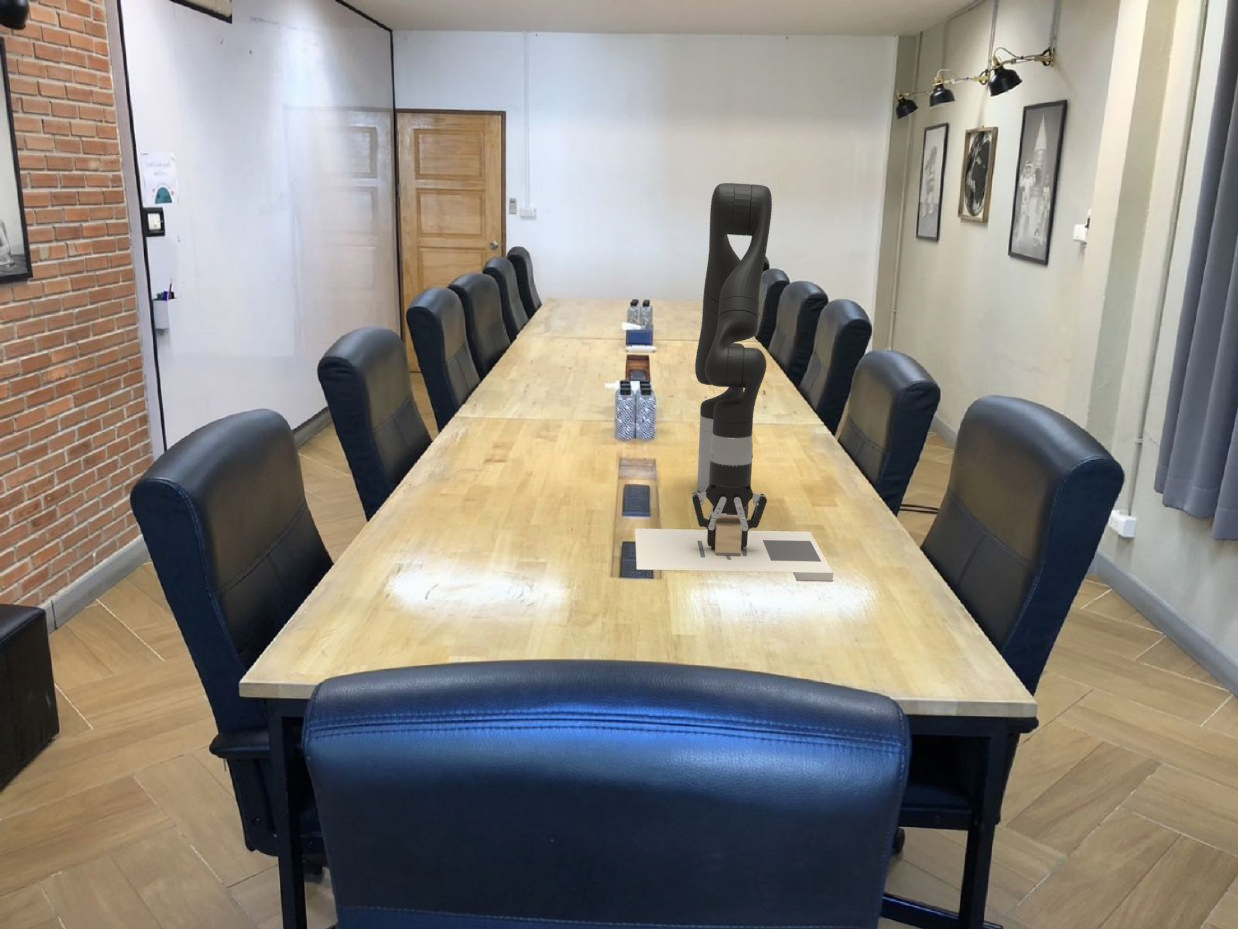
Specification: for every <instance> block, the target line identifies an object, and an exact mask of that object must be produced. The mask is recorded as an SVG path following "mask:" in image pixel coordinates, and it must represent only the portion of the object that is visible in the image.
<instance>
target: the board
mask: <svg viewBox="0 0 1238 929" xmlns="http://www.w3.org/2000/svg"><path fill="white" fill-rule="evenodd" d="M634 531H635V532H634V533H635V534H634V536H635V537H634V538H635V557H636V563H635V564H636V570H638V571H639V570H641V571H646V570H647V571H649V570H650V571H687V572H688V571H690V572H691V571H693V572H694V571H696V572H700V571H702V572H703V571H704V572H749V573H752V572H753V573H754V572H756V573H760V572H761V573H792V574H793V576H794V579H795V581H805V582H806V581H807V582H808V581H812V582H813V581H817V582H821V581H822V582H832V581H833V579H834V572H833V570H832V568H831V566H830V564H829V563H828V561H827V559H826V558H825V555H824V554H823V551H822V550H821V548H820V547H819V545H818V543H817V541H816V539H815V537H814V536H813V534H812V532H811V531H796V530H795V531H789V530H787V531H786V530H785V531H783V530H748V538H747V546H746V547H743V550H741V556H715V550H714V549H711V546H708V543H707V532H708V529H684V528H682V529H680V528H679V529H678V528H634Z"/></svg>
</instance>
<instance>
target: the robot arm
mask: <svg viewBox="0 0 1238 929" xmlns="http://www.w3.org/2000/svg"><path fill="white" fill-rule="evenodd" d="M772 200H773V198H772V192H771V190H770V188H769V187H768V186H766V185H761V184H751V183H736V182H734V183H733V182H723V183H719V184H718V185H716V186H715V188H714V190H713V192H712V196H711V201H710V209H709V210H710V213H709V243H708V245H709V246H708V256H707V258H708V259H707V264H706V265H707V267H706V273H705V278H704V285H703V286H704V287H703V298H702V299H703V300H702V312H701V313H702V317H701V328H700V331H699V339H698V345H697V349H696V356H695V362H694V364H695V365H694V372H695V376H696V380H697V381H698V383H701V384H702V385H708V386H713V387H720V388H721V387H722V388H727V389H726V390H725V391H724V392H723V393H720V394H719V395H717V396H713V397H711V398H708V399H705V400H703V401H702V402H701V404H700V408H699V410H700V411H699V416H700V417H699V434H698V435H699V438H698V460H697V462H698V463H697V483H696V484H697V485H696V486H697V487H696V489H697V490H696V491H698V492H692V494H691V499H692V504H693V507H694V510H695V515H696V519H697V523H698V526H699V527H701V528H702V527H704V528H706V530H708V532H707V543H708V546H711V549H715V534H716V530H715V526H716V523H717V521H718V520H719V517H720V515H721V513H722V514H725V513H732V514H738V518H739V521H740V523H741V525H742V538H741V550H743V547H746V546H747V538H748V531H750V529H753V528H754V529H757V528H758V527H759V525H760V522H761V519H762V517H763V513H764V511H765V508H766V505H767V503H768V498H767V497H766V494H764V493H760V494H759V493H755V492H753V490H752V487H751V486H752V485H751V484H752V469H753V468H752V466H753V459H754V454H753V453H754V451H753V447H754V446H753V428H754V426H753V425H754V413H755V412H754V411H755V407H756V402H757V397H758V394H759V390H760V388H761V386H762V383H763V380H764V377H765V374H766V372H767V359H766V356H765V354H764V352H763V351H762V350H761V349H759V348H756V347H745V346H744V344H742V343H738V342H743V341H747V340H750V339H752V338H754V337H755V335H756V334H757V333H758V332H757V331H758V327H759V326H758V325H759V324H758V323H759V308H760V307H759V304H760V302H759V300H760V291H761V290H760V289H761V284H762V283H761V281H762V276H763V271H764V265H765V261H766V260H765V259H766V254H767V249H768V248H767V247H768V241H769V235H770V229H771V228H770V227H771V221H772V210H773V201H772ZM728 235H731V236H747V237H751V239H750V244H749V245H748V248H747V250H746V252H745V253H744V256H742V258H740V257H739V256H738V255H737V253H736V252H735V251H734V249H733V247H732V245H731V242H730V239H729V237H728ZM706 499H708V500H709V503H710V504H711V506H712V509H711V511H710V515H709V516H708V519H707V518H706V517H704V513H703V509H702V506H704V504H705V500H706ZM751 500H753V503H752V504H753V505H754V508H753V511H752V514H751V517H750V519H746V517H745V514H744V510H743V509H744V507H745V506H746V505H747V504H748V503H749V504H750V501H751Z"/></svg>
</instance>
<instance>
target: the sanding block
mask: <svg viewBox="0 0 1238 929" xmlns="http://www.w3.org/2000/svg"><path fill="white" fill-rule="evenodd" d="M715 530H716V534H715V549H714V550H715V556H741V538H742V525H741V523H740V521H739V518H738V515H720V517H719V520H718V521H717V523H716V526H715Z"/></svg>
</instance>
